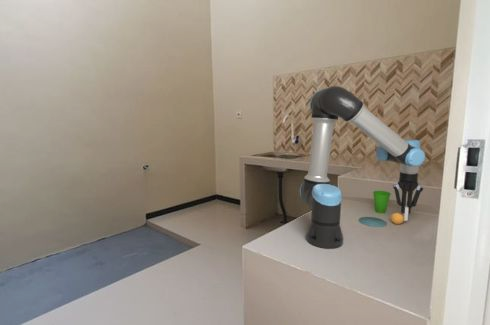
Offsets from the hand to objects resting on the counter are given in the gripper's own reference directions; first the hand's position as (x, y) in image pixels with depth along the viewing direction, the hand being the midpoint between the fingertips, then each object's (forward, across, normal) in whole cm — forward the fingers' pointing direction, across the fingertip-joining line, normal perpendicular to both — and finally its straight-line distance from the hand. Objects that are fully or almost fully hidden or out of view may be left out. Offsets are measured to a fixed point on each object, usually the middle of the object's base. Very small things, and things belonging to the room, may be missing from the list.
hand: (405, 219), depth 134 cm
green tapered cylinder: (+3, +8, -17) cm, 19 cm away
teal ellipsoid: (+2, +14, 0) cm, 15 cm away
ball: (0, +3, 0) cm, 3 cm away
